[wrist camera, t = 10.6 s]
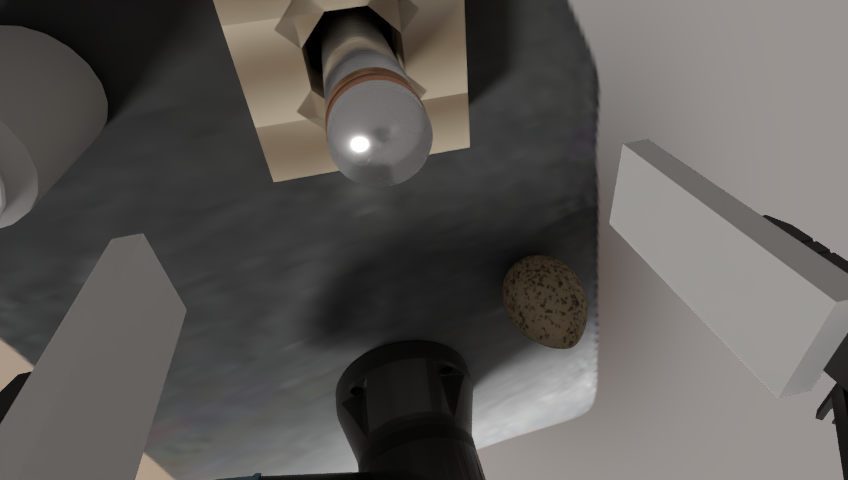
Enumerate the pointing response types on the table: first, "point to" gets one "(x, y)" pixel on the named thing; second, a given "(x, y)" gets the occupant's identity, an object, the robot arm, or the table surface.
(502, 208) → the table surface
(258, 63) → the collar
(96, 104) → the can
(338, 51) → the tube
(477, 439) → the table surface
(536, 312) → the decorative egg
